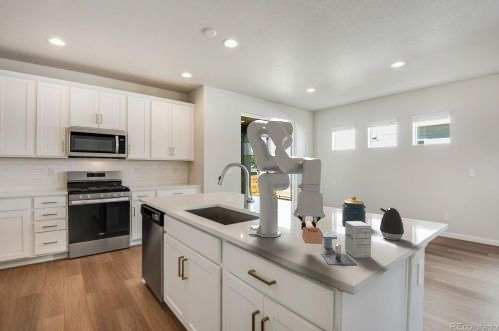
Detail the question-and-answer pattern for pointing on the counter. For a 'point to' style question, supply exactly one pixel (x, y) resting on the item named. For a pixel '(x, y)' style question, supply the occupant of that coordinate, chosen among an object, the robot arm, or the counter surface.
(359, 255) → the supplement box
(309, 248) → the counter surface
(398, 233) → the pump dispenser
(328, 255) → the pintle station
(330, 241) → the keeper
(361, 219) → the canister
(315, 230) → the link
